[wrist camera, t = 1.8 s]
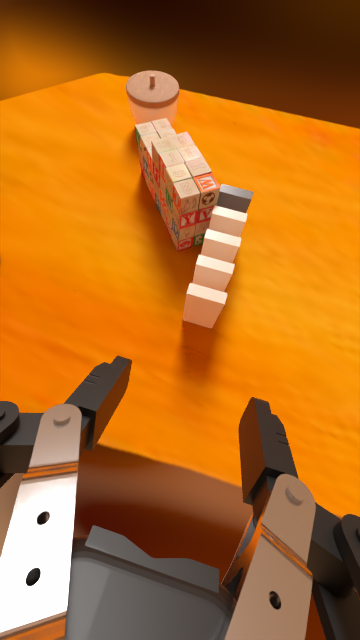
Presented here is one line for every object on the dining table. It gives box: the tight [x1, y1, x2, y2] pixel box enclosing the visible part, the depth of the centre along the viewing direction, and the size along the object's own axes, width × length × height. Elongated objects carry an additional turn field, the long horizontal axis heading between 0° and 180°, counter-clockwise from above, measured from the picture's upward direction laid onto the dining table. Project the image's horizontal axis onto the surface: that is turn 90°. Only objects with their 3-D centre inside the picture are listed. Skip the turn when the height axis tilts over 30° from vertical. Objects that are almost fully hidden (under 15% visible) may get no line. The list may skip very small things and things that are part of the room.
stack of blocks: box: [135, 118, 221, 251], centre depth 42 cm, size 21×6×12 cm, turn 22°
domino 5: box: [183, 283, 228, 329], centre depth 35 cm, size 5×2×10 cm, turn 73°
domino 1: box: [216, 184, 253, 213], centre depth 41 cm, size 5×2×10 cm, turn 73°
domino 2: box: [209, 206, 248, 237], centre depth 39 cm, size 5×2×10 cm, turn 74°
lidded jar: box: [126, 71, 179, 126], centre depth 51 cm, size 11×11×9 cm
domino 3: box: [201, 229, 242, 263], centre depth 38 cm, size 5×2×10 cm, turn 73°
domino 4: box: [192, 255, 235, 292], centre depth 36 cm, size 5×2×10 cm, turn 74°
